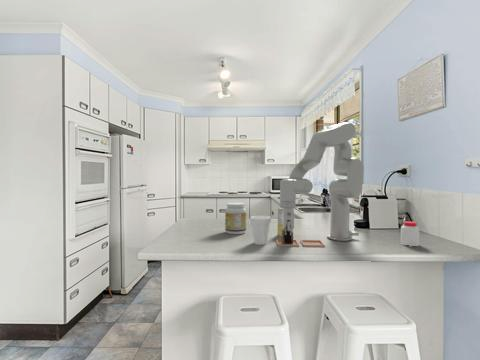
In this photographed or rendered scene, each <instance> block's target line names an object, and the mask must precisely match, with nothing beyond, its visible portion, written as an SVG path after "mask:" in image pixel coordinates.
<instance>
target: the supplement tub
mask: <svg viewBox="0 0 480 360" xmlns="http://www.w3.org/2000/svg"><path fill="white" fill-rule="evenodd" d="M245 207H246V204H245V203H244V202H237V201H236V202H227V203H226V208H225V212H224V214H225V215H224V217H225V223H224V224H225V226H224V227H225V228H224V229H225V232H226V233H227V234H229V235H243V234H245V233H246V232H247V209H246V208H245Z"/></svg>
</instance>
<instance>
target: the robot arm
mask: <svg viewBox="0 0 480 360" xmlns="http://www.w3.org/2000/svg"><path fill="white" fill-rule="evenodd" d="M356 134H357V128H356V126H355V124H353V123H352V122H342V123H338V124H337V123H336V124H333V125H330V126H328V127H326V129H325V130H319V131H316V132H314V133H313V135H312V136H311V138H310V141H309V144H308V146H307V148H306V151H305V153H304V155H303V157H302V158H301V159H300V161H298V162H297V164H296V165H295V167H294V168H293V169H292V170H291V173H290V174H289V178H283V179H281V180H280V181H279V208H282V223H283V227H284V230H285V239H284V243H288V244H291V227H292V229H293V230H294V229H295V209H296V207H297V206H296V205H297V203H296V202H297V200H296V199H297V198H296V197H297V196H296V195H297V194H300V195H307V194H309V193H311V192H312V190H313V188H314V187H313V183H312V182H311V180H309V179H307V178H304V177H305V176H306V174H307V173H308V172H309V171H311V170H312V169H314V168H316V167H317V166H319V165H320V164H321V161H322V159H323V156H324V154H325V152H326V149H327V148H334V155H333V157H334V158H333V174H335V175H336V176H338V177H346V178H336V179H333V180H331V182H330V183H329V186H328V191H329V192H328V193H329V198H330V221H329V223H330V224H329V225H330V228H329V229H330V231H329V234H327V235H326V238H327V239H329V240H333V241H340V242H347V241H352V240H353V236H356V237H357V236H359V235H360V233H359V231H351V230H350V209H351V208H350V207H351V205H350V200H349V199H357V198H359V197H360V196H361V195H362V191H363V185H364V183H363V182H364V173H365V169H364V164H363V162H362V160H361V159H359V157H358V158H357V157H352V145H351V143H350V142H349V141H350V140H352V139H353V138H354V137H355V135H356ZM286 230H287V231H286Z"/></svg>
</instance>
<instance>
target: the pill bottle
mask: <svg viewBox="0 0 480 360" xmlns="http://www.w3.org/2000/svg"><path fill="white" fill-rule="evenodd" d="M402 244H404V245H403V246H405V245H409V246H408V247H412V246H417V247H419V246H418V245H420V227H418V224H417V221H406V220H405V221H403V225H401V226H400V245H402Z"/></svg>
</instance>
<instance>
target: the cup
mask: <svg viewBox="0 0 480 360" xmlns="http://www.w3.org/2000/svg"><path fill="white" fill-rule="evenodd" d="M271 218H272V217H271V216H269V215H252V216H250V218H249V219H250V223H251V228H252V235H253V243H254V245H261V246H262V245H263V246H264V245H267V243H268V237H269V229H270V223H271V222H272V219H271Z"/></svg>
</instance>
